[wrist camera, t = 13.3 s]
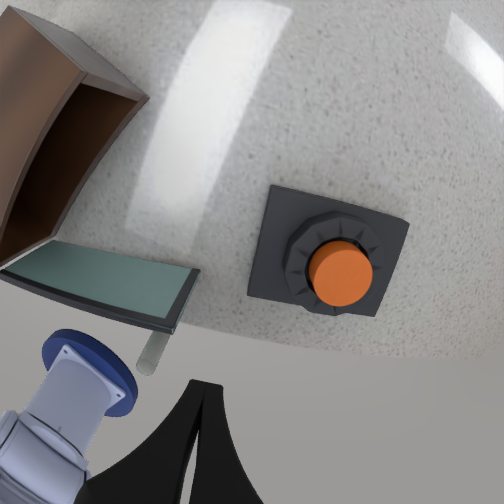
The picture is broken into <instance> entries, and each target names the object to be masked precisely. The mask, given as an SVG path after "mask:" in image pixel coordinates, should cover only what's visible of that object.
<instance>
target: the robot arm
mask: <svg viewBox="0 0 504 504" xmlns="http://www.w3.org/2000/svg"><path fill="white" fill-rule="evenodd" d="M125 395H126V392H125V391H124V390H123V389H122V388H120V387H119V386H118V385H116V384H115V383H114V382H112V381H111V380H110V379H109V378H107V377H106V376H105V375H104V374H102V373H101V372H100V371H99V370H97V369H96V368H95V367H94V366H93V365H91V364H90V363H89V362H88V361H87V360H86V359H84V358H83V357H82V356H81V355H80V354H79V353H78V352H77V351H75V350H74V349H73V348H72V347H71V346H70V345H69V344H65V345H64V346H63V347H62V349H61V351H60V352H59V354H58V356H57V357H56V359H55V361H54V363H53V364H52V366H51V368H50V370H49V371H48V373H47V375H46V378H45V380H44V381H43V382H42V384H41V385H40V386H39V388H38V389H37V391H36V392H35V393H34V395H33V396H32V397H31V399H30V401H29V402H28V403H27V405H26V406H25V407H24V409H23V410H22V412H21V413H19V414H17V413H16V411H14V410H6V411H5V412H4V413H3V414H2V415H1V417H0V504H180V499H181V493H182V488H183V483H184V477H185V473H186V469H187V466H188V462H189V459H190V456H191V453H192V449H193V446H194V443H195V440H196V436H197V433H198V445H197V457H196V468H195V473H194V479H193V484H192V490H191V495H190V501H189V504H264V503H263V502H262V500H261V499H260V498H259V496H258V495H257V493H256V491H255V489H254V488H253V486H252V484H251V482H250V481H249V479H248V477H247V475H246V473H245V471H244V469H243V467H242V465H241V462H240V460H239V458H238V456H237V453H236V450H235V447H234V444H233V441H232V438H231V435H230V431H229V428H228V423H227V419H226V414H225V408H224V400H223V386H222V385H218V384H213V383H208V382H203V381H199V380H194V379H192V380H190V381H189V383H188V385H187V388H186V389H185V391H184V393H183V394H182V396H181V397H180V399H179V401H178V402H177V404H176V405H175V406H174V408H173V409H172V411H171V412H170V413H169V415H168V416H167V417H166V418H165V419H164V420H163V422H162V423H161V424H160V425H159V426H158V428H157V429H156V430H155V431H154V432H153V433H152V434H151V435H150V436H149V437H148V438H147V439H146V440H145V441H144V442H143V443H142V444H141V445H139V446H138V447H137V448H136V449H135V450H133V451H132V452H131V453H130V454H129V455H127V456H126V457H125V458H123V459H122V460H120V461H119V462H117V463H116V464H114V465H113V466H111V467H110V468H108V469H107V470H105V471H104V472H102V473H100V474H98V475H96V476H94V477H92V478H91V474H90V472H89V471H88V470H87V469H86V467H87V465H88V463H89V462H88V461H87V460H85V459H84V456H85V454H86V452H87V450H88V448H89V446H90V443H91V441H92V439H93V437H94V435H95V433H96V431H97V429H98V427H99V424H100V422H101V420H102V418H103V416H104V414H105V412H106V410H107V409H109V408H110V407H111V406H113V405H114V404H115V403H117V402H118V401H119V400H121V399H122V398H123V397H125ZM198 430H199V432H198Z"/></svg>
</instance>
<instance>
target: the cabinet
mask: <svg viewBox="0 0 504 504" xmlns="http://www.w3.org/2000/svg"><path fill="white" fill-rule="evenodd" d="M148 99H149V97H148V96H147V95H146V94H145V93H144V92H143V91H142V90H141V89H139V88H138V87H137V86H136V85H135V84H134V83H133V82H131V81H130V80H129V79H128V78H127V77H126V76H125V75H123V74H122V73H121V72H120V71H119V70H117V69H116V68H115V67H114V66H113V65H112V64H110V63H109V62H108V61H107V60H106V59H104V58H103V57H102V56H101V55H100V54H98V53H97V52H96V51H95V50H94V49H92V48H91V47H90V46H89V45H87V44H86V43H85V42H84V41H82V40H81V39H80V38H79V37H77V36H76V35H75V34H74V33H72V32H71V31H69V30H67V29H65V28H62V27H60V26H58V25H56V24H54V23H52V22H49V21H47V20H45V19H43V18H40V17H38V16H36V15H33V14H31V13H28V12H26V11H23V10H20V9H18V8H15V7H12V6H10V5H8V7H7V8H6V9H5V11H4V12H3V13H2V15H1V16H0V267H2V266H3V265H5V264H6V263H8V262H10V261H11V260H13V259H15V258H16V257H18V256H20V255H22V254H23V253H25V252H27V251H29V250H30V249H32V248H34V247H36V246H37V245H39V244H41V243H43V242H45V241H47V240H48V239H50V238H52V237H54V236H55V235H56V233H57V231H58V229H59V227H60V225H61V223H62V221H63V220H64V218H65V216H66V214H67V212H68V211H69V209H70V207H71V205H72V204H73V202H74V200H75V198H76V197H77V195H78V193H79V192H80V190H81V189H82V187H83V185H84V184H85V182H86V181H87V179H88V178H89V176H90V175H91V173H92V171H93V170H94V168H95V167H96V166H97V164H98V163H99V161H100V160H101V158H102V157H103V155H104V154H105V153H106V151H107V150H108V149H109V147H110V146H111V144H112V143H113V142H114V140H115V139H116V138H117V137H118V135H119V134H120V133H121V131H122V130H123V129H124V128H125V126H126V125H127V124H128V123H129V121H130V120H131V119H132V118H133V117H134V115H135V114H136V113H137V112H138V111H139V109H140V108H141V107H142V106H143V105H144V104H145V103H146V101H147V100H148Z"/></svg>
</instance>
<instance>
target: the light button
mask: <svg viewBox="0 0 504 504" xmlns="http://www.w3.org/2000/svg"><path fill="white" fill-rule="evenodd" d="M372 274H373V273H372V266H371V264H370V262H369V260H368V259H367V257H366V256H365V255H364V254H363V253H362V252H361V251H360V250H359V249H358V248H357V247H356V246H355V245H353V244H352V243H350V242H347V241H332V242H329V243H327V244H325V245H323V246H322V247H321V248H319V249H318V250H317V251H316V253H315V254H314V255H313V257H312V259H311V262H310V265H309V275H310V279H311V281H312V284H313V287H314V289H315V292H316V294H317V296H318V297H319V298H320V299H321V300H322V301H323V302H325V303H327V304H329V305H332V306H346V305H350V304H352V303H354V302H356V301H358V300H359V299H360V298H361V297H363V295H364V294H365V293H366V292H367V290H368V289H369V287H370V285H371V281H372Z"/></svg>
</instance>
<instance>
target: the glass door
mask: <svg viewBox="0 0 504 504" xmlns="http://www.w3.org/2000/svg"><path fill="white" fill-rule="evenodd" d="M199 276H200V270H199V269H194V268H192V269H191V268H185V267H180V266H175V265H170V264H165V263H159V262H154V261H149V260H144V259H139V258H134V257H130V256H125V255H120V254H115V253H110V252H106V251H101V250H96V249H92V248H87V247H83V246H78V245H74V244H69V243H65V242H60V241H56V240H52V241H50V242H49V243H47V244H45V245H43V246H41V247H40V248H38V249H36V250H34V251H33V252H31V253H29V254H28V255H26V256H24V257H22V258H21V259H19V260H17V261H16V262H14V263H13V264H11V265H9V266H8V267H6V268H5V269H2V270H0V279H1V280H3V281H5V282H8V283H10V284H12V285H15V286H17V287H20V288H22V289H25V290H27V291H30V292H32V293H35V294H37V295H40V296H43V297H45V298H48V299H51V300H54V301H56V302H59V303H62V304H65V305H68V306H70V307H73V308H77V309H80V310H83V311H86V312H89V313H92V314H95V315H99V316H102V317H105V318H109V319H112V320H116V321H119V322H123V323H126V324H130V325H134V326H138V327H142V328H146V329H150V330H154V331H153V333H152V334H151V336H150V338H149V340H148V342H147V344H146V346H145V348H144V349H143V351H142V353H141V355H140V357H139V359H138V361H137V364H136V367H137V370H138V372H139V373H141V374H142V375H145V376H149V375H151V374H153V373H154V371H155V369H156V367H157V364H158V362H159V360H160V358H161V355H162V353H163V351H164V348H165V346H166V344H167V342H168V339H169V337H170V335H173V334H174V331H175V329H176V327H177V324H178V322H179V320H180V318H181V316H182V313H183V311H184V309H185V307H186V304H187V302H188V300H189V298H190V296H191V293H192V291H193V289H194V287H195V285H196V283H197V280H198V278H199Z"/></svg>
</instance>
